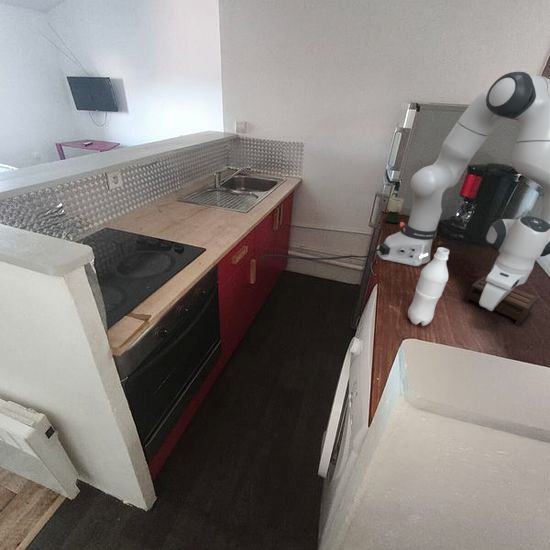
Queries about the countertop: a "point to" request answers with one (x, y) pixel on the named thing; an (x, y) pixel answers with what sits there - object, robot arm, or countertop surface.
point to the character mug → (394, 209)
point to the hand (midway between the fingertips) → (490, 308)
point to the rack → (506, 301)
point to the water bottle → (429, 288)
